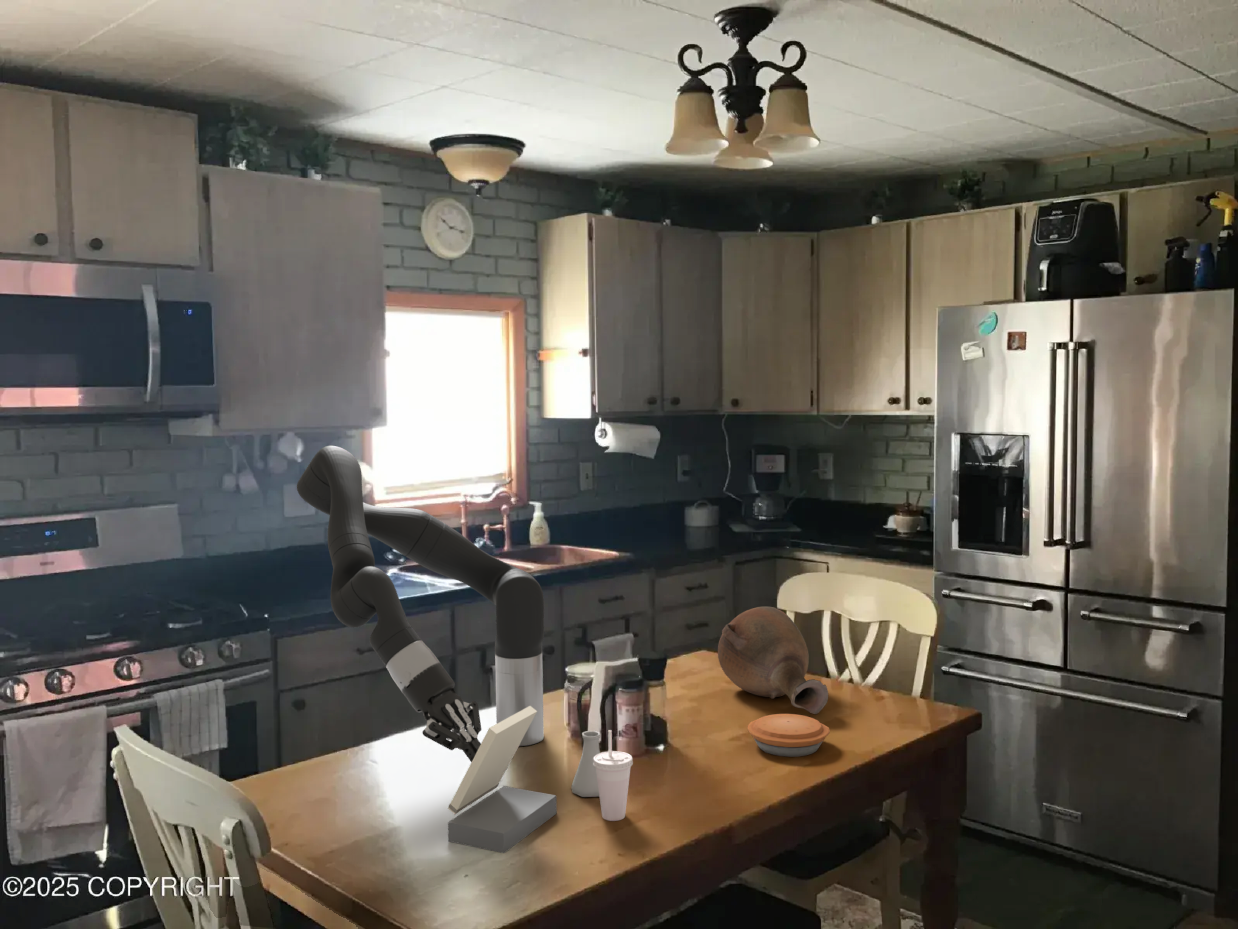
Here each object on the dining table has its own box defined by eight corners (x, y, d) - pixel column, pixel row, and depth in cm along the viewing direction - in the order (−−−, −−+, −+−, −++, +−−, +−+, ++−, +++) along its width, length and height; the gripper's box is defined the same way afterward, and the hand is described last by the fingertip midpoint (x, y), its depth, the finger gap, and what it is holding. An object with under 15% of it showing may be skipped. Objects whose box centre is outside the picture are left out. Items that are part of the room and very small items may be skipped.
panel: (490, 781, 174) (530, 705, 170) (497, 787, 174) (537, 711, 169) (447, 808, 163) (488, 727, 159) (454, 815, 163) (496, 734, 158)
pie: (794, 767, 191) (794, 740, 190) (730, 746, 202) (730, 721, 202) (846, 747, 201) (846, 722, 200) (782, 728, 212) (782, 704, 212)
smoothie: (611, 805, 174) (610, 722, 173) (641, 814, 170) (640, 730, 169) (585, 817, 169) (584, 732, 168) (616, 828, 165) (615, 740, 164)
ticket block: (504, 803, 175) (503, 786, 175) (556, 813, 171) (556, 795, 171) (448, 841, 161) (447, 822, 161) (503, 853, 157) (503, 833, 157)
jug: (710, 683, 244) (771, 745, 217) (700, 607, 238) (761, 661, 211) (787, 658, 250) (856, 716, 223) (779, 583, 244) (849, 633, 217)
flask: (564, 786, 183) (563, 730, 182) (603, 779, 186) (602, 724, 185) (580, 801, 176) (579, 743, 175) (619, 794, 179) (618, 737, 178)
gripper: (431, 678, 178) (492, 762, 174) (380, 701, 166) (444, 791, 162) (457, 652, 175) (519, 736, 171) (407, 673, 163) (473, 764, 159)
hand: (483, 763), depth 166 cm, fingers closed
